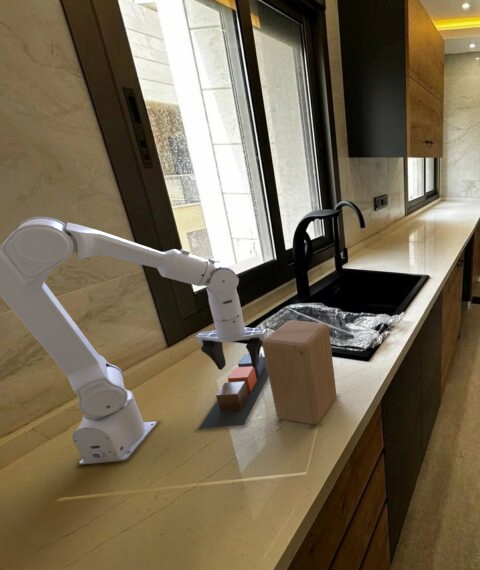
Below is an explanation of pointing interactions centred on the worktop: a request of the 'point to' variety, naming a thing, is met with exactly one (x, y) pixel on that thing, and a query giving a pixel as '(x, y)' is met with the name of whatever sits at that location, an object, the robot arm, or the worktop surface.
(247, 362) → the slate-blue block
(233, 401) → the walnut block
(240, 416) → the line mat
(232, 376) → the terracotta block
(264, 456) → the worktop surface
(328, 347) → the wooden block
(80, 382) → the robot arm
